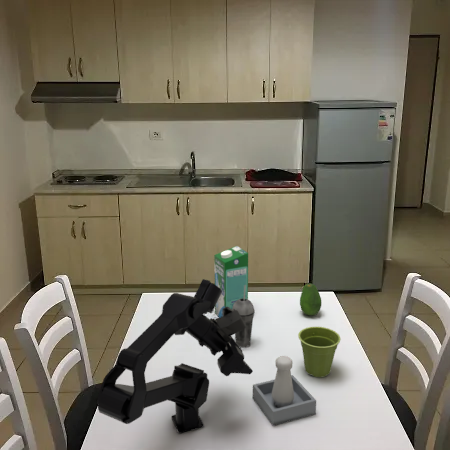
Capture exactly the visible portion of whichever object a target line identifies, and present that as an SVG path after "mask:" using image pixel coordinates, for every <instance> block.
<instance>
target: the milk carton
mask: <svg viewBox="0 0 450 450" xmlns="http://www.w3.org/2000/svg"><path fill="white" fill-rule="evenodd" d="M213 258H214V259H213V260H214V264H213V265H214V266H213V267H214V284H215V285H216V286H218V287H219V288H221V290H222V293H221V295H220V297H219V299H218V301H217V303H216V305H215V307H214V314H216V316H218V318H221V316H222V317H223V315H222V309H223V308H225V307H229V308H231V309H232V308H233V305H234V303H235V302H236V301H237V300H239V299H242V298H244V285H246V290H245V299H248V300H249V252H247V251H246V250H244V249H243V248H241V247H239V246H238V245H235V246H233V247H231V248H228V249H226V250H223V251H221V252H218V253H216V254H214V257H213Z"/></svg>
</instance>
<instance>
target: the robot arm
mask: <svg viewBox="0 0 450 450" xmlns="http://www.w3.org/2000/svg"><path fill="white" fill-rule="evenodd" d="M221 293H222V290H221V288H219V287H218V286H216V285H215V283H212V282H211V280H208V279H205V278H202V280H201V282H200V284H199V286H198V289H196V292H195V294H194V296H192V295H187V294H183V293H177V292H174V293H172V294H171V295H170V296H169V297H168V298H167V300H166V301H165V302H164V304H163V305H162V310H161V314H160V315H159V316H158V317H157V318H156V319H155V320H154V321H153V322H152V323H151V324H150V325H149V326H148V327H147V328H146V329H145V330H144V331H143V332H142V333H141V334H140V335H139V336H138V337H137V338H135V340H134V341H133V342H132V343H130V345H129V346H128V347H127V348H123V349H121V350H120V351H119V353H118V355H117V359H116V362H115V364H114V366H113V367H112V368H111V369H110V370H109V372H107V374H106V375H105V376H104V377H103V380H102V383H101V386H100V389H99V393H98V395H97V400H96V401H97V409H98V412H99V413H100V414H103V415H105V416H107V417H109V418H112V419H113V420H116V421H119V422H121V423H123V424H126V425H130V424H131V423H133V422H134V421H136V420H138V419H140V418H141V417H142V415H143V413H144V410H145V409H146V408H149V407H152V406H156V405H157V404H160V403H163V402H166V401H169V402H173V403H174V404H175V405H174V406H175V414H172V415H171V420H172V422H173V424H174V427H175V428H176V429H175V430H176V431H177V433H178V434H182V433H185V432H188V431H189V432H190V431H193V430H196V429H197V430H198V429H201V428H204V422H203V420H202V418H201V417H200V409H199V408H201V407H202V406H203V404H205V403H206V402H207V400H208V399H207V397H208V393H209V392H208V391H209V387H210V379H209V378H208V373H207V372H205V370H204V369H201V368H198V367H194V366H191V365H189V364H185V363H180V364H178V365H174V368H173V371H172V375H170V376H166V377H163V378H159V379H156V380H152V381H149V382H148V381H147V382H146V374H145V373H146V369H147V365H148V362H149V361H150V360H151V359H153V357H155V355H156V354H157V353H158V352H159V351H160V350H161V349H162V348H163V346H165V345H166V343H167V342H168V341H169V340H170V339H171V338H172V337H173V336H174V335H175V336H183V335H185V333H187V334H188V335H190V336H191V337H192V338H194V339H195V340H197V342H198V344H199V346H200V347H204V346H205V347H206V348H207V349H209V351H210V354H211V355H213V356H214V357H215V356H216V355H217V354H218V353H221V352H222V354H221V355H220V356H219V357H218V359H217V362H216V364H217V367H218V369H219V371H220V373H221V374H222V375H224V376H226V377H229V376H230V375H231V374H241V375H242V374H243V375H251V374H252V373H253V369H252V368H251V366H250V365H248V363H247V362H246V361H245V360H244V359H245V355H244V353H243V351H244V350H243V349H242V347H239V346H238V344H237V343H236V339H235V338H234V337H232V336H234V335H235V333H237V332H239V331H242V330H244V329H245V328H246V325H245V323H244V321H243V320H242V318H241V316H240V314H239V312H238V311H237V310H235V309H233V310H234V311H233V310H232V309H231V308H229V307H225V308H223V309H222V315H223V317H222V316H221V318H220V317H216V318H209V317H207V316H206V315H207V314H208V313H209V314H212V313H213V312H214V311H215V305H216V303H217V301H218V299H219V297H220V295H221ZM127 370H128V371H130V372H131V374H132V384H133V385H127V384H124V383H123V384H122V383H117V380H118V379H119V378H120V377H121V376H122V374H123V373H124V372H126V371H127Z"/></svg>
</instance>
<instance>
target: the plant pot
mask: <svg viewBox="0 0 450 450" xmlns="http://www.w3.org/2000/svg"><path fill="white" fill-rule="evenodd" d="M297 336H298V340H300V345H301V347H302V348H301V349H302V355H303V356H302V358H303V362H304V363H303V364H304V369H305V370H304V371H305V372H306V373H307V374H308V375H311V376H312V377H315V378H324V377H327V376H328V375H329V374H330V373H331V370H332V365H333V362H334V358H335V353H336V351H337V348H338V345H339V344H340V342H341V340H342V339H341V336H340V334H339V333H338V332H336V331H335V330H334V329H330V328H328V327H325V326H323V327H322V326H309V327H308V326H307V327H305V328H302V329H301V330H300V331H299V332H298V334H297Z"/></svg>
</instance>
